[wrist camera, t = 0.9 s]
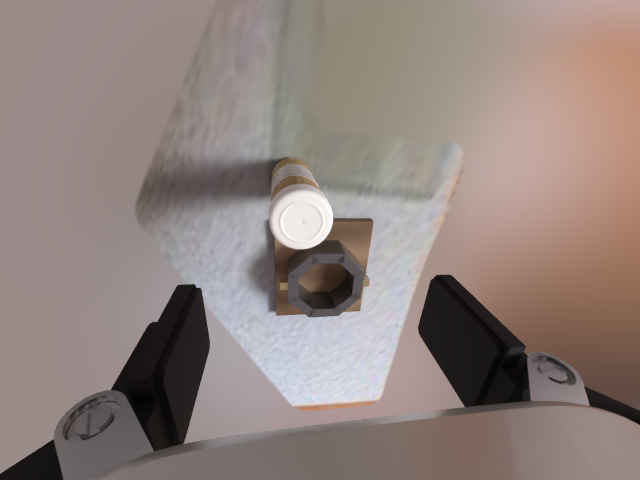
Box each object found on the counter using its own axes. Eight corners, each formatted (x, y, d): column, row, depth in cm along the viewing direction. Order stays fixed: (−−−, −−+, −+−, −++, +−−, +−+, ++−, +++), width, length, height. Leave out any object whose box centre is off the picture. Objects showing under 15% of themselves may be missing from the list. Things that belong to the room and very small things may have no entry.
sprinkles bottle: (298, 203, 32) (312, 261, 20) (263, 184, 31) (256, 234, 19) (319, 170, 31) (346, 210, 19) (284, 147, 29) (289, 177, 18)
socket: (279, 241, 33) (279, 255, 30) (366, 239, 35) (375, 253, 32) (280, 300, 37) (280, 319, 34) (358, 297, 39) (365, 314, 36)
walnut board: (274, 218, 33) (274, 221, 32) (370, 218, 35) (373, 221, 34) (276, 310, 39) (276, 315, 38) (358, 306, 41) (359, 311, 40)
